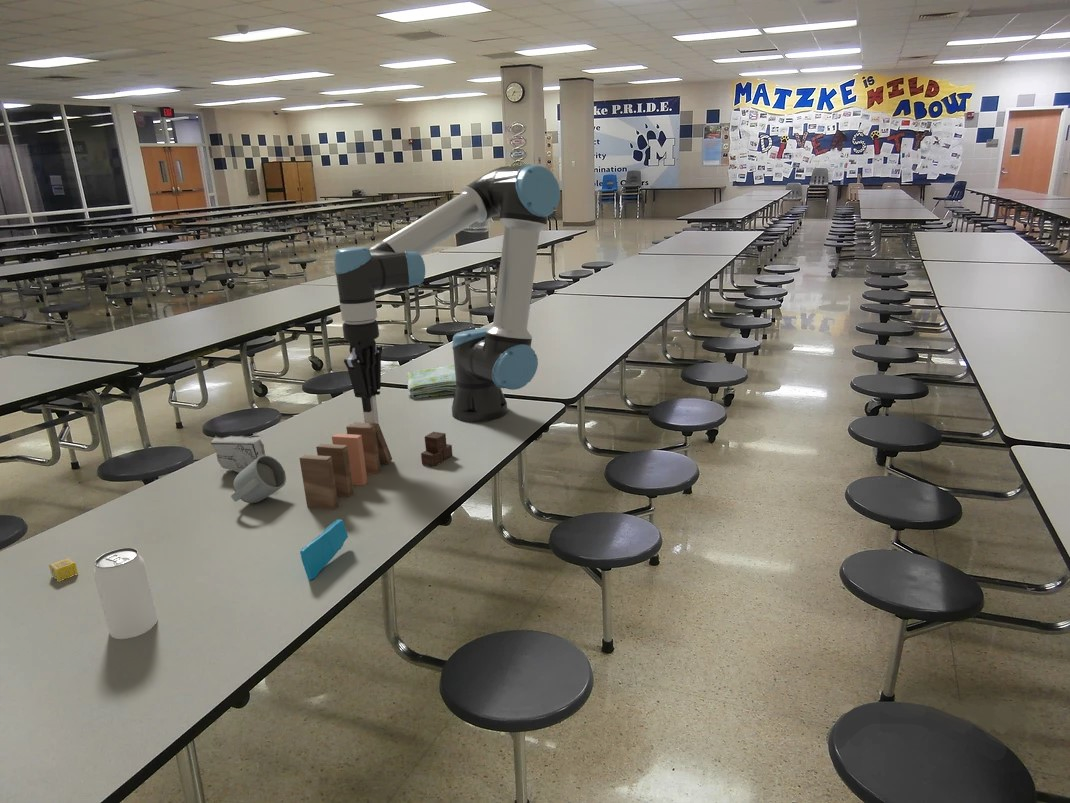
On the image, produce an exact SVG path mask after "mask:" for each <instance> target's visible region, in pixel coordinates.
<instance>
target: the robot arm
mask: <svg viewBox="0 0 1070 803" xmlns="http://www.w3.org/2000/svg"><path fill="white" fill-rule="evenodd" d="M459 193H460V194H458V195H457V196H455V197H453V198H452V199H450V200H448V201H447V202H445V203H443V204H442V205H440V206H438V207H437V208H435V209H433V210H431V211H430V212H428V213H427V214H425V215H423V216H422V217H420V218H419V219H417V220H415V221H413V222H412V223H410V224H408V225H407V226H405V227H404V228H402V229H400V230H398V231H396V232H395V233H393V234H391V235H390V236H388V237H386V238H385V239H383V240H382V241H380V242H378V243H376V244H374V245H373V246H371V247H366V246H354V247H351V246H350V247H343V248H339V249H337V250H336V251H335V252H334V273H335V276H336V277H335V278H336V284H337V285H336V286H337V291H338V297H339V298H338V300H339V309H340V313H341V314H340V316H341V320H342V321H343V323H342V324H341V325H342V333H343V339H344V340H345V341H347V342H349V353H350V354H349V356H348V357H345V358H344V360H343V363H344V364H345V366H346V368H347V371H348V375H349V379H350V382H351V386H352V390H353V393H354V397H355V398H359V399H360V398H361V403H362V404H361V405H362V413H363V421H364V423H377V424H379V423H380V421H379V414H378V404H377V397H376V396H378V395H379V396H380V394H381V391H380V390H381V386H382V385H381V382H382V378H381V377H382V376H381V375H382V353H383V347H382V345H377V343H376V339H378V338H379V336H380V330H379V329H380V328H379V321H377V320H376V319H377V318H378V312H377V311H378V310H377V303H376V291H382V290H389V289H390V290H391V289H399V288H400V289H401V288H407V287H408V288H410V287H413V286H418V285H421V284H422V283H423V282H424V280H425V278H426V265H425V264H426V263H425V261H424V258H423V257H422V256H423V255H424V254H426V253H427V252H429V251H430V250H432V249H433V248H435V247H437V246H439V245H440V244H442V243H444V242H446V241H447V240H449V239H450V238H452V237H453V236H455V235H457V234H458V233H460V232H462V231H464V230H465V229H467V228H468V227H469V226H471V225H472V224H474V223H476V222H477V223H479V224H480V223H485V221H487V220H489V219H492V218H494V217H497V216H499V220H498V221H500V223H501V224H502V226H503V228H504V230H503V231H504V232H503V233H504V234H503V239H502V248H501V257H500V262H499V263H500V265H499V273H498V281H497V290H496V297H495V305H494V312H493V313H494V315H493V321H492V326H491V327H489V328H487V327H486V328H476V329H469V330H468V329H467V330H463V331H460V332H456V333H455V334H454V335H453V337H452V347H451V349H452V353H453V354H452V355H453V362H454V364H453V365H455V376H456V392H455V394H454V395H453V396H454V397H453V399H452V400H453V401H452V405H451V415H452V417H453V418H454V419H455V420H458V421H462V422H468V423H470V422H472V423H474V422H475V423H478V422H488V421H489V422H490V421H493V420H496V419H500V418H502V417H504V416H506V415H507V413H508V402H507V400H506V397H505V395H504V392H503V390H502V389H507V390H512V391H515V390H520V389H522V388H524V387H526V386H527V385H528V383H530V382H531V381H532V380H533V378H534V377H535V375H536V373H537V370H538V366H539V358H538V354H536V352H535V350H534V349H533V348H532V341H533V340H532V339H533V336H532V335H531V334H530V332H529V331H528V324H529V318H530V309H531V302H532V293H533V286H534V279H535V270H536V269H535V268H536V263H537V262H536V261H537V255H538V247H539V239H540V233H541V231H543V230H544V229H545V228H547V227H548V219H549V216H550V215H551V214H553V213H554V211H555V210H557V208H558V206H559V204H560V200H561V189H560V185H559V182H558V179H557V178H556V176H555V175H554V173H553V171H551V170H550V169H548V168H547V167H545V166H543V165H535V164H525V165H511V166H509V165H508V166H506V165H505V166H500V167H497V168H494V169H493V170H491V171H489V172H487V173H485V174H484V175H482V176H480V177H479V178H476V179H475V180H474V181H472V182H470V183H469V184H467V185H465V186H464V187H463V188H461V189H460V192H459ZM378 390H379V391H378Z"/></svg>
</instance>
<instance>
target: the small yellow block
mask: <svg viewBox="0 0 1070 803" xmlns="http://www.w3.org/2000/svg"><path fill="white" fill-rule="evenodd" d="M48 568H49V572H50V574H51V575H50V576H51V577H52V576H53V577H54V578H55V579H57V580H58V581H60V580H62V579H65V578H68V577H70V576H72V575H75V574H78V575H79V573H78V569H77V568H78V567H77V564H76V562H74V561H73V560H71V558H69V557H66V558H63V559H60V560H58V561H57V560H56V561H55V562H51V563H49V565H48ZM54 578H53V579H54ZM55 579H54V580H55ZM58 581H57V582H58Z"/></svg>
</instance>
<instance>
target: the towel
mask: <svg viewBox="0 0 1070 803" xmlns="http://www.w3.org/2000/svg"><path fill="white" fill-rule="evenodd" d="M406 376H407V390H408V392H407V396H408V398H409V399H421V398H422V397H423V398H428V397H429V396H431V397H439V395H440V396H446V395H455V392H456V376H455V365H454V364H450V365H445V366H440V367H433V368H431V367H430V368H423V369H417V370H412V371H409V372H407V373H406ZM423 398H422V399H423Z"/></svg>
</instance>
